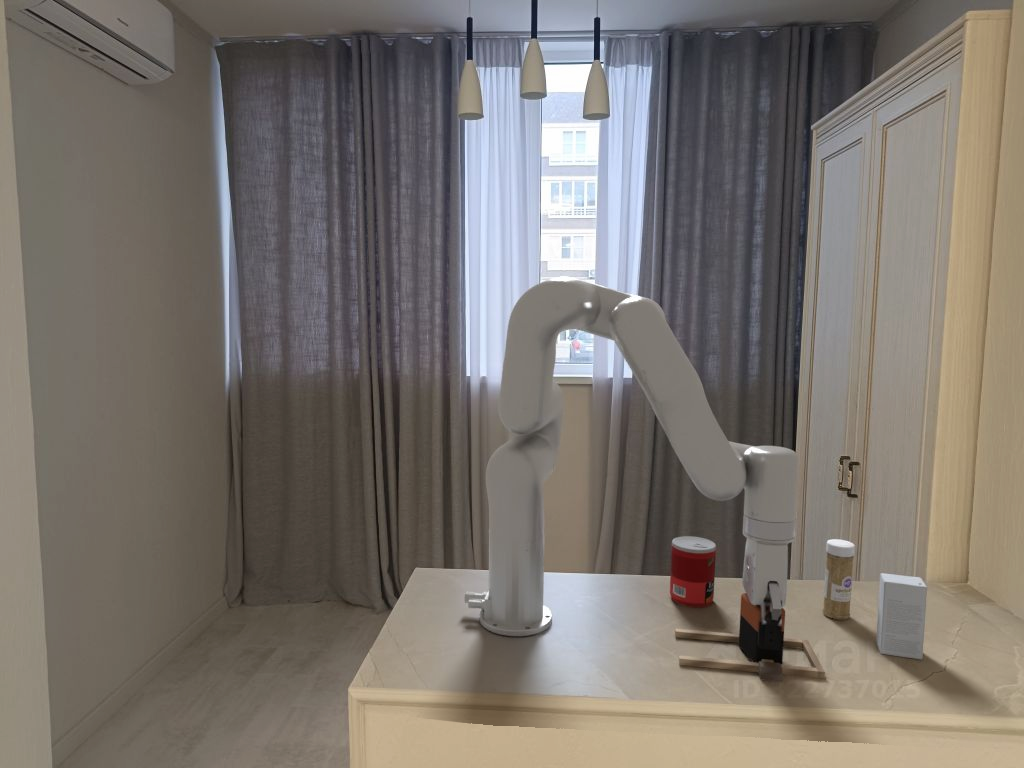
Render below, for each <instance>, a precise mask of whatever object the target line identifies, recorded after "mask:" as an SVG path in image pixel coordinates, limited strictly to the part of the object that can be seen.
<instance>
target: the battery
mask: <svg viewBox="0 0 1024 768" xmlns="http://www.w3.org/2000/svg"><path fill="white" fill-rule="evenodd" d="M764 602H770V600H764ZM765 610H766V614H767V612H768V611H770V608H765ZM739 611H740V612H739V631H738V632H739V633H738V634H739V643H738V647H739V648H740V649H741V650H742V651H743V652H744V653H745V655H746V656H747V658H748V659H749V660H751V661H750V662H757V663H759V661H762V659H766V660H773V661H774V663H780V664H781V665H783V657H784V647H783V643H784V638H785V624H786V623H785V622H786V621H785V620H786V610H785V609H784V607H782V610H781V615H782V616H781V617H782V633H781V649H780V650H770V649H760V648H759V647H758V628H759V622H761V612H760V605H756V606H753V605H752V604H751V603H750V601H749V599H748V597H747V594H746V592H744V593H742V594H741V595H740V610H739Z"/></svg>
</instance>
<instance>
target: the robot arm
mask: <svg viewBox="0 0 1024 768" xmlns="http://www.w3.org/2000/svg"><path fill="white" fill-rule="evenodd" d="M567 330H569V331H571V330H572V331H573V330H577V331H580V332H584V333H588V334H590V335H594V336H598V337H600V338H604V339H607V340H611V341H614V344H615V346H616V347H617V348H618V350H619V352H620V354H621V355H622V357H623V358H624V360H625V362H626V364H627V365H628V367H629V369H630V371H631V372H632V374H633V375H634V377H635V378H636V381H637V382H638V385H639V386H640V388H641V389H642V392H644V394H645V396H646V399H647V400H648V402H649V403H650V405H651V408H652V410H653V413H654V415H655V416H656V418H657V420H658V421H659V423H660V426H661V428H662V429H663V431H664V433H665V435H666V436H667V439H668V441H669V443H670V445H671V447H672V449H673V450H674V452H675V454H676V456H677V458H678V459H679V461H680V463H681V464H682V466H683V469H684V470H685V471H686V473H687V475H688V477H689V478H690V480H691V481H692V483H693V484H694V486H695V487H696V489H697V490H698V491H699V492H700V493H701V494H702V495H703V496H704V497H706V498H709V499H711V500H714V501H717V502H724V501H729V500H731V499H734V498H736V497H737V496H738V495H739V494H741V492H742V491H743V489H744V498H743V499H744V500H743V520H742V521H743V522H742V535H743V536H744V537H745V538H746V541H745V547H744V558H743V559H744V560H743V569H742V582H741V583H742V586H743V589H744V593H746V594H747V597H748V599H749V601H750V603H751V604H752V605H753V606H756V605H760V612H761V622H759V628H758V647H759V648H760V649H770V650H780V649H781V633H782V617H781V616H782V615H781V610H782V608H784V606H785V605H786V600H787V588H788V587H787V586H788V564H789V563H788V561H789V556H788V554H789V553H788V552H789V551H788V548H789V547H788V545H789V544H790V543H793V542H795V537H796V522H797V519H796V518H797V508H798V507H797V505H798V504H797V502H798V488H799V471H800V469H799V468H800V459H799V456H798V454H797V453H796V451H794V449H793V450H792V449H790V448H787V447H785V446H784V447H783V446H776V445H758V446H755V445H749V444H744V443H738V442H733V441H730V440H728V439H727V437H726V435H725V433H724V432H723V429H722V428H721V427H720V424H719V422H718V421H717V418H716V417H715V415H714V413H713V411H712V409H711V407H710V404H709V402H708V399H707V397H706V396H707V395H706V393H705V392H706V391H705V390H704V387H703V383H702V380H701V378H700V377H699V374H698V372H697V371H696V369H695V368H694V366H693V364H692V362H691V361H690V358H689V357H688V356H687V355H686V353H685V351H684V349H683V348H682V346H681V344H680V343H679V341H678V340H677V337H676V336H675V335H674V332H673V331H672V329H671V328H670V325H669V324H668V322H667V319H666V314H665V312H664V310H663V308H662V307H661V306H660V305H659V304H658V303H657V302H656V301H655V300H654V299H651V298H648V297H644V296H640V295H635V294H631V293H628V292H623V291H619V290H616V289H612V288H610V287H606V286H603V285H600V284H596V283H593V282H589V281H586V280H582V279H579V278H575V277H572V276H571V277H570V276H559V277H554V278H550V279H546V280H543V281H542V282H539V283H537V284H535V285H533V286H532V287H530V288H529V289H527V290H526V291H525V292H524V293H523V294H522V295H521V296H520V297H519V298H518V300H517V301H516V303H515V305H514V306H513V308H512V311H511V312H510V315H509V319H508V325H507V330H506V339H505V340H506V341H505V349H504V357H503V363H502V372H501V373H502V374H501V380H500V391H499V399H498V405H497V406H498V407H497V409H498V416H499V419H500V422H501V424H502V425H503V427H504V428H506V429H507V430H508V431H509V436H508V441H506V442H505V443H503V444H501V445H500V446H499V447H498V448H497V449H496V450H494V452H493V453H492V455H491V456H490V458H489V460H488V462H487V465H486V468H485V469H486V470H485V486H486V493H487V495H486V496H487V501H488V502H487V503H488V591H483V592H482V593H480V592H474V591H465V593H464V603H467V604H468V605H467V607H468V608H469V609H481V610H480V611H479V622H480V625H481V626H482V627H483V628H485V629H486V630H488V631H490V632H491V633H494V634H497V635H502V636H506V637H507V636H508V637H527V636H532V635H537V634H540V633H541V632H544V631H545V630H547V629H548V628H550V626H551V625H552V622H553V613H552V611H551V610H550V609H549V607H547V606H546V605H544V584H545V582H544V577H545V521H546V520H545V519H546V518H545V504H544V494H543V492H544V491H543V490H544V487H543V486H544V483H545V482H546V481H547V480H548V479H549V478H550V477H551V476H552V474H553V473H554V472H555V469H556V467H557V463H558V458H559V453H560V452H559V451H560V443H561V434H562V426H563V419H564V406H565V405H564V394H563V391H562V389H561V387H560V385H559V384H558V383H557V381H556V380H555V379H554V373H555V366H556V365H555V364H556V356H557V341H558V340H557V339H558V336H559V335H560V333H562V332H564V331H567ZM764 600H770V602H764ZM765 608H770V611H768V612H767V614H766V610H765Z"/></svg>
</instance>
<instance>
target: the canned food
mask: <svg viewBox="0 0 1024 768" xmlns="http://www.w3.org/2000/svg"><path fill="white" fill-rule="evenodd" d="M716 546H717V545H716V543H715V542H714V541H712V540H710V539H708V538H703V537H699V536H690V535H685V536H678V537H674V538H673V539H672V541H671V552H670V554H671V555H670V556H671V557H670V580H669V584H670V585H669V594H670V598H671V600H672V601H674V602H675V603H677V604H679V605H681V606H685V607H690V608H704V607H708V606H710V605H711V604H712V603H713V600H714V595H715V577H716V556H717V555H716V554H717V547H716Z"/></svg>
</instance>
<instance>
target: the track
mask: <svg viewBox="0 0 1024 768" xmlns="http://www.w3.org/2000/svg"><path fill="white" fill-rule="evenodd" d="M674 637H675V638H682V639H691V640H703V641H714V642H715V641H716V642H727V643H735V644H736V643H738V644H739V633H731V632H730V633H728V632H717V631H706V630H695V629H693V630H692V629H686V628H685V629H684V628H683V629H682V628H675V629H674ZM784 647H785V648H793V649H794V648H795V649H796V648H797V649H802V650H803V652H804V654H805V657H806V658H807V660H808V662H809V664H810V666H811V667H810V666H799V665H791V664H790V665H789V664H788V665H787V664H782V665H781V664H780V663H774V661H773V660H766V659H762V661H759V663H757V662H752V661H747V660H746V661H745V660H744V661H743V660H733V659H725V658H723V659H722V658H713V657H702V656H701V657H700V656H689V655H678V665H680V666H689V667H699V668H700V667H701V668H710V669H720V670H721V669H722V670H731V671H743V672H755V673H758V677H759V680H763V681H773V682H783V681H782V680H783V675H784V676H785V675H786V676H795V677H807V678H816V679H817V678H818V679H825V677H826V671H825V669H824V668H823V666H822V663H821V662H820V660H819V658H818V657H817V655H816V653H815V651H814V649H813V647H812V645H811V643H810V641H809V640H808V639H798V638H789V637H784V643H783V648H784Z"/></svg>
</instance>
